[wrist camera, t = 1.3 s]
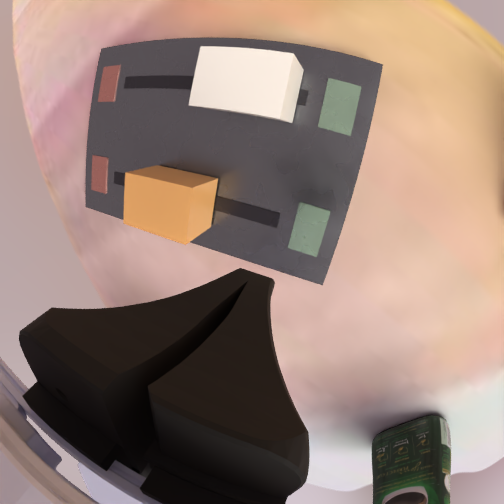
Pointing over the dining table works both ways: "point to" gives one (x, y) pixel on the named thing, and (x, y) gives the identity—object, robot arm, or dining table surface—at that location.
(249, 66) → the switch
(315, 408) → the dining table surface
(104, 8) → the dining table surface
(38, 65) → the dining table surface
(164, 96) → the breaker panel
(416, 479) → the coffee jar
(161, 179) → the plain orange cube
